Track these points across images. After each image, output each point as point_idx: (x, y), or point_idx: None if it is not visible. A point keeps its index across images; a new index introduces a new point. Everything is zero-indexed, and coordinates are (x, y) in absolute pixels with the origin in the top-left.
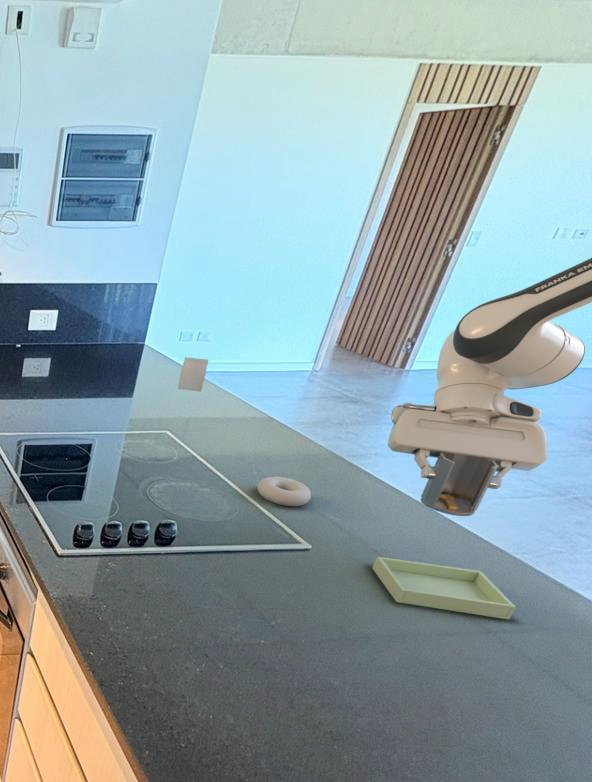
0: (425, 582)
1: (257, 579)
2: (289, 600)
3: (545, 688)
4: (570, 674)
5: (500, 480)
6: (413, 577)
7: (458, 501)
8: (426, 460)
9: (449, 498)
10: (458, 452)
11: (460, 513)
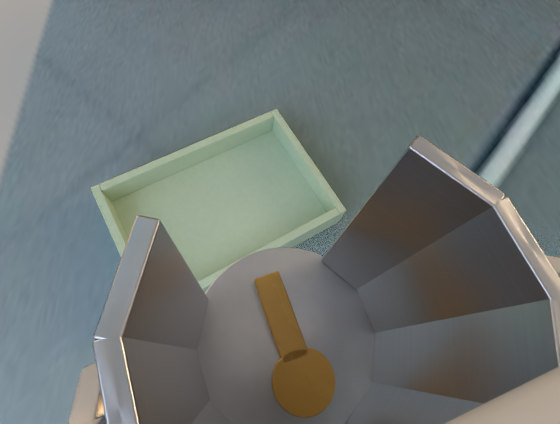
0: (245, 223)
1: (448, 54)
2: (391, 32)
3: (78, 43)
4: (36, 96)
5: (81, 395)
6: (267, 228)
7: (256, 402)
8: (553, 265)
9: (293, 366)
10: (485, 407)
11: (236, 262)
